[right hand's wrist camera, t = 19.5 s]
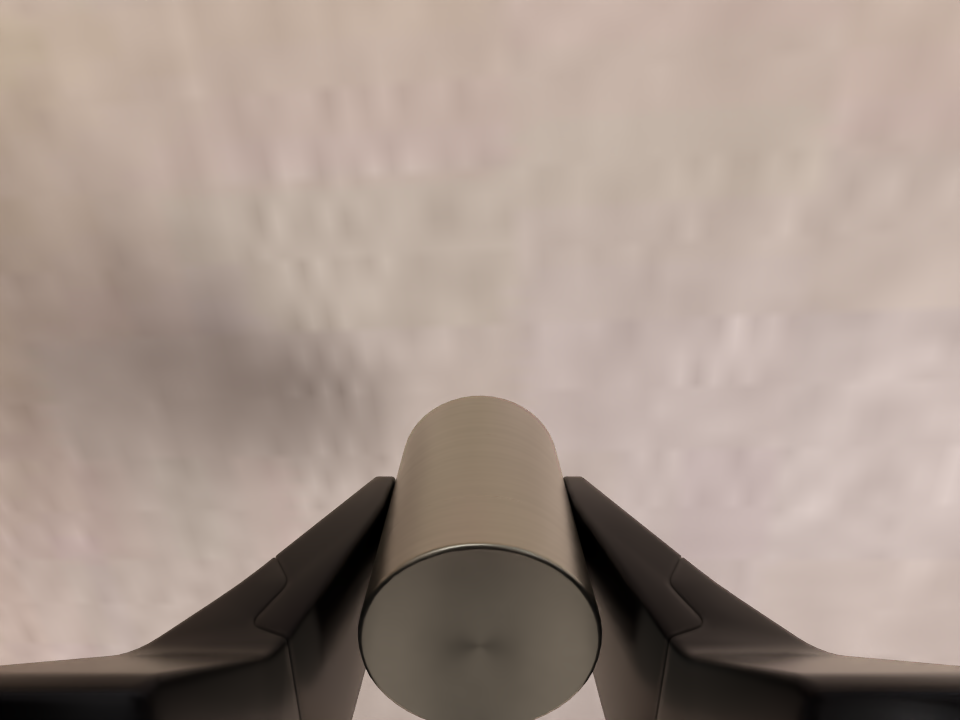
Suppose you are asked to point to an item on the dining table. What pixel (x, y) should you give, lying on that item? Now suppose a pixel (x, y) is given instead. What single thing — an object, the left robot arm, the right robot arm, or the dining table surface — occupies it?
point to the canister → (479, 573)
